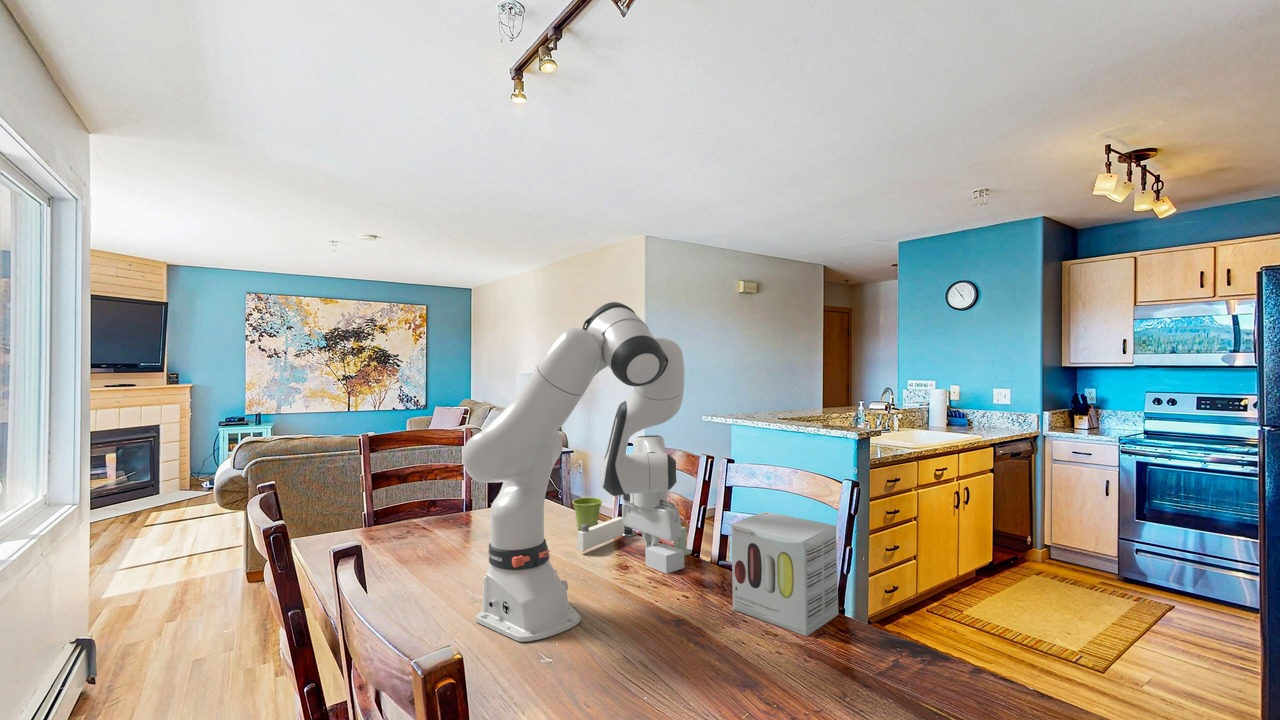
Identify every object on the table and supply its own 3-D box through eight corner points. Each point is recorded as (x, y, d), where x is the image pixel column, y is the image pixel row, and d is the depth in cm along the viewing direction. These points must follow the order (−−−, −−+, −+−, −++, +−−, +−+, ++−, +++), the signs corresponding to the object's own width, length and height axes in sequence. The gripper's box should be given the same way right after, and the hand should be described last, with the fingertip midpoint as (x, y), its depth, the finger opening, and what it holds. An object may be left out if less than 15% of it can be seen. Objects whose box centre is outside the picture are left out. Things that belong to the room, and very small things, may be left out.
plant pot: (605, 524, 186) (604, 497, 186) (600, 533, 177) (599, 504, 177) (576, 524, 187) (575, 497, 187) (569, 533, 178) (569, 504, 178)
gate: (618, 533, 172) (618, 511, 172) (624, 534, 171) (623, 512, 171) (577, 549, 158) (577, 526, 158) (583, 551, 156) (582, 527, 156)
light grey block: (684, 568, 146) (684, 550, 146) (666, 574, 142) (666, 555, 142) (663, 560, 152) (662, 543, 152) (645, 565, 148) (645, 548, 148)
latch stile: (692, 553, 156) (691, 527, 156) (679, 557, 153) (679, 530, 153) (678, 548, 160) (677, 523, 160) (666, 552, 158) (665, 526, 158)
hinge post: (638, 535, 174) (637, 511, 174) (626, 538, 171) (626, 514, 171) (629, 532, 177) (628, 509, 177) (617, 535, 174) (617, 511, 174)
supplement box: (730, 611, 120) (728, 523, 120) (766, 592, 129) (764, 510, 129) (807, 638, 108) (805, 540, 108) (840, 614, 117) (838, 524, 117)
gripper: (686, 502, 145) (688, 557, 145) (635, 489, 161) (637, 539, 161) (667, 506, 141) (669, 563, 141) (617, 492, 157) (618, 544, 157)
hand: (651, 550), depth 151 cm, fingers closed
